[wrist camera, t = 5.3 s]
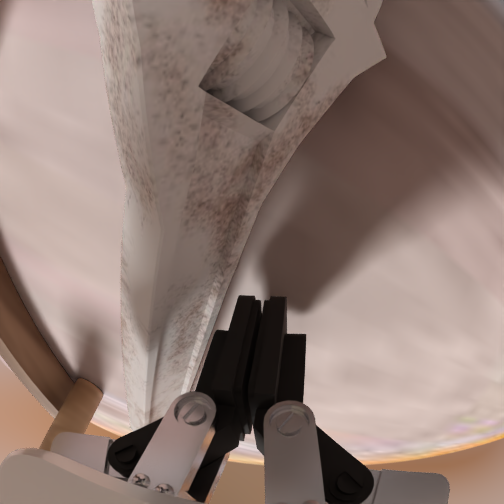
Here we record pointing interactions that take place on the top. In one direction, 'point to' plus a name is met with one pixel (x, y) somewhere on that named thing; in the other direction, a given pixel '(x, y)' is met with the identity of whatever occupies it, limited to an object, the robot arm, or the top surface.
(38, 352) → the peg rack
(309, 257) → the top surface
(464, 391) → the top surface
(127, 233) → the wrench
